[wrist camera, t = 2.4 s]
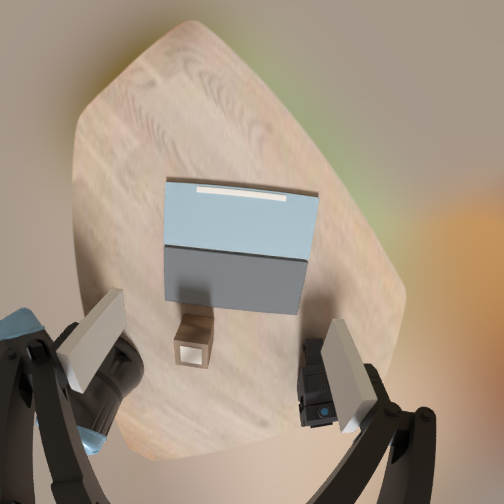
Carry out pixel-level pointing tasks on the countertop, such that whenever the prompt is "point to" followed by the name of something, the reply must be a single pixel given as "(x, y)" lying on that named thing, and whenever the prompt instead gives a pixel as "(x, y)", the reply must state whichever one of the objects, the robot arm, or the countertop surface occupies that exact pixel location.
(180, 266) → the mat
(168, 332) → the countertop surface
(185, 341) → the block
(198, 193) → the mat
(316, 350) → the tool
